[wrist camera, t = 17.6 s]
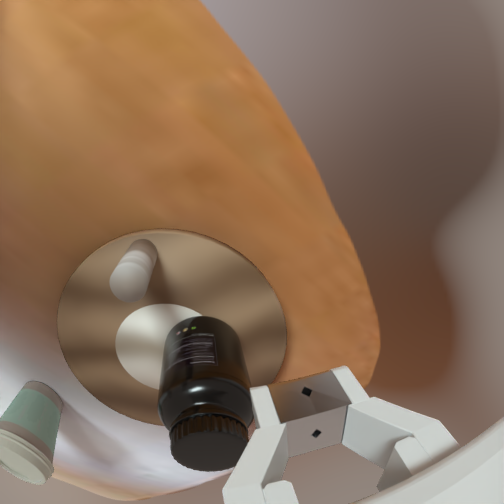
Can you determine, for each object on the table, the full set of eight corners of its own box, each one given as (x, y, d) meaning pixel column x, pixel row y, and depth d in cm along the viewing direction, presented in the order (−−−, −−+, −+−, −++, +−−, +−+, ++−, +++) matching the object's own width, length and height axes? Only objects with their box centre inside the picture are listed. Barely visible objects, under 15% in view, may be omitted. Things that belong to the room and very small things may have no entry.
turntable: (34, 251, 22) (-9, 283, 15) (273, 210, 25) (304, 233, 18) (107, 421, 30) (98, 470, 23) (286, 399, 33) (306, 447, 26)
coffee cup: (6, 372, 27) (-30, 435, 16) (53, 371, 28) (19, 446, 17) (36, 418, 30) (13, 480, 18) (82, 419, 31) (64, 491, 20)
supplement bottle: (251, 358, 28) (281, 462, 16) (186, 381, 27) (188, 486, 16) (222, 300, 25) (242, 407, 14) (150, 328, 25) (130, 437, 14)
